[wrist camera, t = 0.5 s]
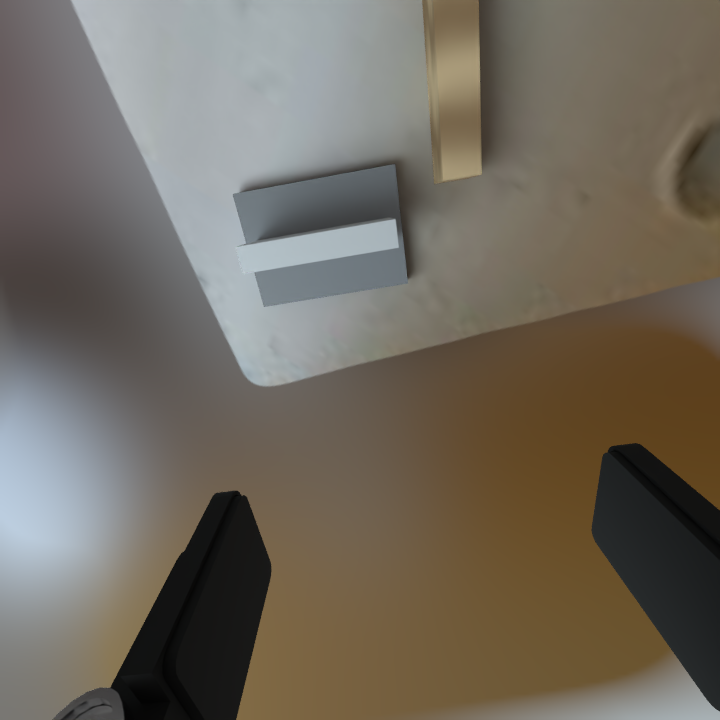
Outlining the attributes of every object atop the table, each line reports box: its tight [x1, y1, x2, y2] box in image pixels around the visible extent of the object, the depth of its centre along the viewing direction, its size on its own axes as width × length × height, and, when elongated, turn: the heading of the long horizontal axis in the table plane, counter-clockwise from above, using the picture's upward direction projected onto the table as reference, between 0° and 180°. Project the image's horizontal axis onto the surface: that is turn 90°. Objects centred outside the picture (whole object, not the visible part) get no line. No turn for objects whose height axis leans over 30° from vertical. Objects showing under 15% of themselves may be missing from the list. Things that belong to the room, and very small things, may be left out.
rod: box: [422, 0, 482, 184], centre depth 25 cm, size 20×3×4 cm, turn 9°
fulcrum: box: [233, 164, 408, 307], centre depth 29 cm, size 10×14×8 cm
